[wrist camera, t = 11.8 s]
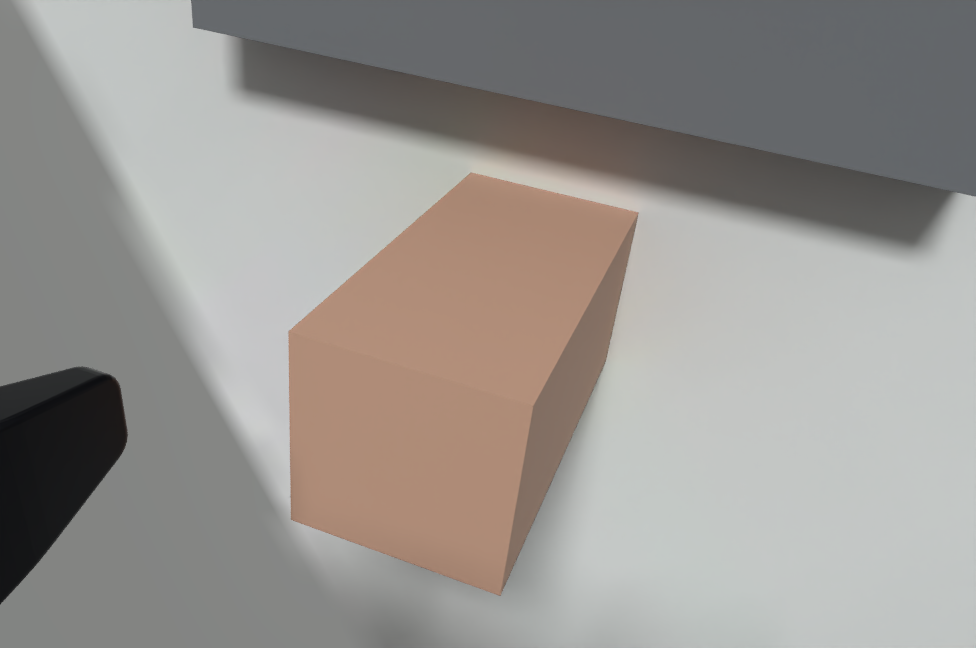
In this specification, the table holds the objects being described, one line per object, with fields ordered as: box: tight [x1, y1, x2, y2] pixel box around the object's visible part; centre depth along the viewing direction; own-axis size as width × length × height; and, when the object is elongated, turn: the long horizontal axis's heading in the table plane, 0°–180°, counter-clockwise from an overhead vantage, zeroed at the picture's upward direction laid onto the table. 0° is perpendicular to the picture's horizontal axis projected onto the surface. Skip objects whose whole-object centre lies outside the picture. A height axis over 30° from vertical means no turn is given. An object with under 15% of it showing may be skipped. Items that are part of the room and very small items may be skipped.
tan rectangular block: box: [289, 173, 638, 596], centre depth 17 cm, size 4×4×8 cm
